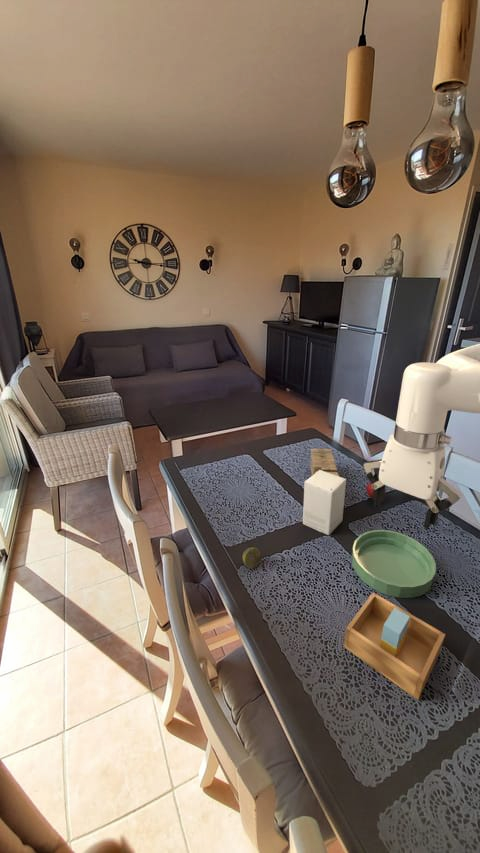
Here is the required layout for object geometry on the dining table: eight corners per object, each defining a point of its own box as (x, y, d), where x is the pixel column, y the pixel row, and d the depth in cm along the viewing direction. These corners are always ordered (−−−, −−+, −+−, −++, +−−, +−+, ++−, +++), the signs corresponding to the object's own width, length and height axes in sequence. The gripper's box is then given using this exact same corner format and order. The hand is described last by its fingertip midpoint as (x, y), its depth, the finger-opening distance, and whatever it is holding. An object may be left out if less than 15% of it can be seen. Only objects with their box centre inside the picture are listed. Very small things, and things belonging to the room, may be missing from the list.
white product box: (343, 521, 109) (348, 478, 103) (328, 536, 103) (332, 492, 97) (316, 509, 114) (319, 468, 108) (301, 523, 108) (303, 481, 102)
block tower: (341, 517, 112) (330, 466, 138) (344, 495, 108) (332, 447, 134) (316, 516, 113) (309, 466, 139) (317, 494, 109) (311, 447, 135)
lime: (262, 560, 95) (262, 545, 93) (256, 573, 91) (256, 558, 89) (246, 555, 97) (246, 541, 95) (240, 568, 93) (239, 553, 91)
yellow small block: (403, 644, 73) (406, 630, 71) (393, 662, 69) (396, 648, 68) (388, 634, 75) (391, 621, 73) (378, 652, 71) (381, 638, 70)
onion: (383, 506, 115) (387, 484, 112) (364, 503, 117) (367, 482, 113) (383, 495, 120) (386, 475, 117) (365, 493, 122) (368, 472, 118)
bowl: (443, 565, 92) (447, 553, 90) (415, 615, 79) (418, 602, 78) (371, 531, 104) (373, 520, 102) (337, 569, 92) (338, 557, 90)
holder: (439, 653, 71) (445, 634, 69) (418, 700, 64) (423, 681, 62) (369, 610, 81) (372, 591, 78) (343, 646, 73) (346, 627, 71)
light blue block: (406, 630, 71) (410, 616, 69) (396, 648, 68) (399, 634, 66) (391, 621, 73) (394, 607, 71) (381, 638, 70) (383, 624, 68)
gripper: (479, 441, 60) (457, 524, 67) (378, 416, 71) (368, 489, 78) (466, 458, 55) (444, 545, 62) (360, 428, 66) (351, 505, 73)
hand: (402, 514), depth 70 cm, fingers open, 9 cm apart
